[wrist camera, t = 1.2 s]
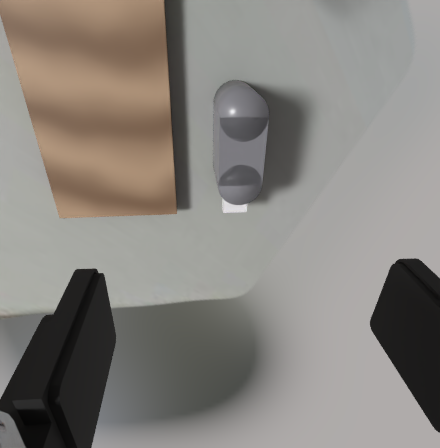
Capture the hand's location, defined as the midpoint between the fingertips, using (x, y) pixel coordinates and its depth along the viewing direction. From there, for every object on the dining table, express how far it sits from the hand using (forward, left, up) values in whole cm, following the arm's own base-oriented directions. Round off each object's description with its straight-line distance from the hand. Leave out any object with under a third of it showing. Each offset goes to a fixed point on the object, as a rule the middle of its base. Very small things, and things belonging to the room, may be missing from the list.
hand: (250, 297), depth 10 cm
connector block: (+2, +3, -24) cm, 24 cm away
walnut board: (0, -9, -24) cm, 25 cm away
